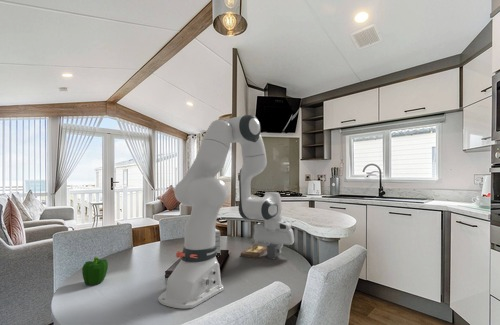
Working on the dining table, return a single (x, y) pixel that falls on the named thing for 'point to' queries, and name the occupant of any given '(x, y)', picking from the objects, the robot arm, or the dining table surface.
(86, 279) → the bell pepper
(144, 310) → the dining table surface
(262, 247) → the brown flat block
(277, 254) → the block
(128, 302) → the dining table surface
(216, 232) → the supplement box
